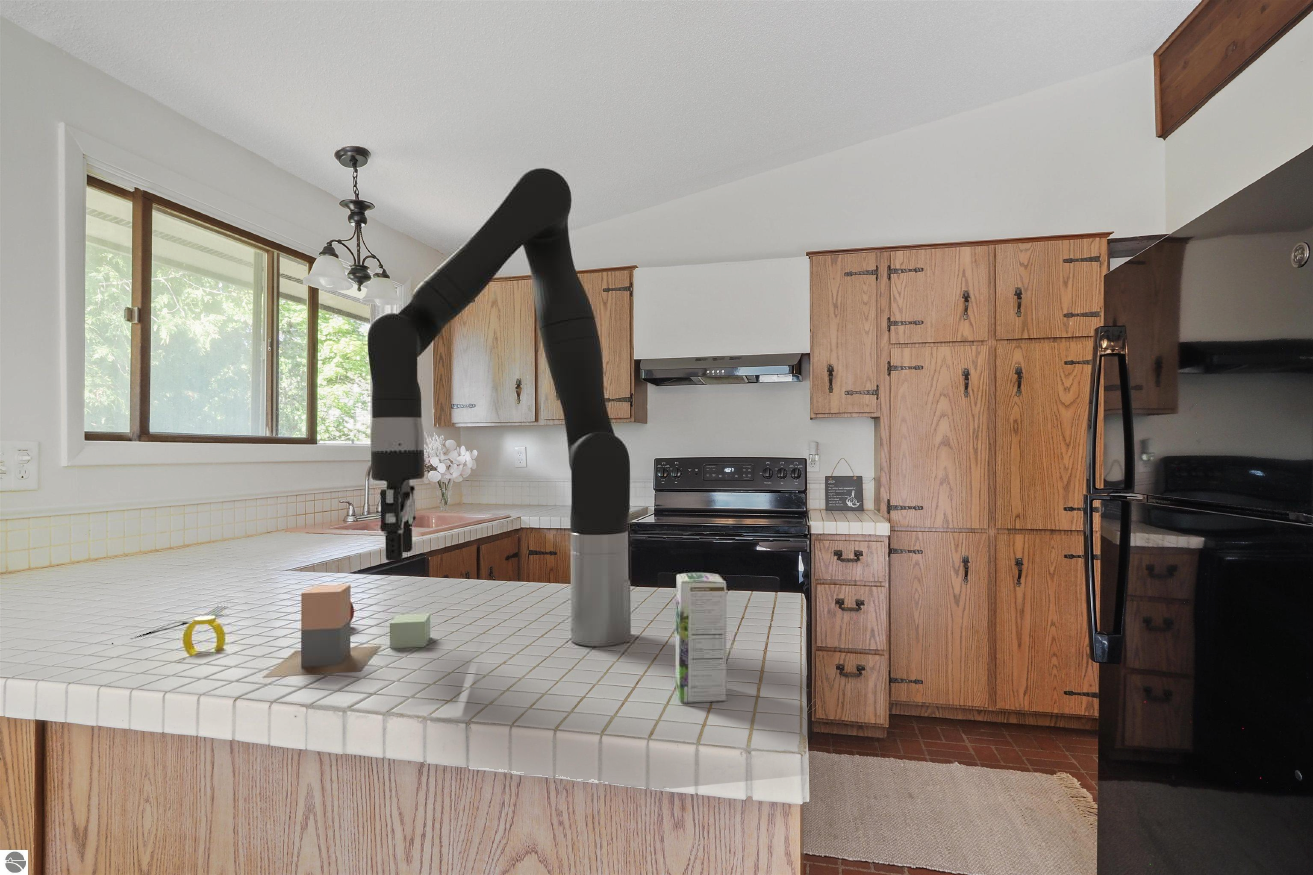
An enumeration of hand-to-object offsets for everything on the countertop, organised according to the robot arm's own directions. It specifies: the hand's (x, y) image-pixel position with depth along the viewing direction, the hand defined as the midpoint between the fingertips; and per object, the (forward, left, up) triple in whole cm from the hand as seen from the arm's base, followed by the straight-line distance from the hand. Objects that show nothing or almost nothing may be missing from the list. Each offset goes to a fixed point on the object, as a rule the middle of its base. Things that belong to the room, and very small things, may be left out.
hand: (399, 555), depth 101 cm
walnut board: (+9, +5, -15) cm, 18 cm away
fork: (+44, -24, -15) cm, 52 cm away
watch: (+29, -5, -15) cm, 33 cm away
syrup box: (-40, +25, -15) cm, 50 cm away
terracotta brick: (+9, +5, -9) cm, 13 cm away
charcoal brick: (+9, +5, -14) cm, 17 cm away
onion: (+13, -13, -15) cm, 23 cm away
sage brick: (-1, -2, -15) cm, 15 cm away
